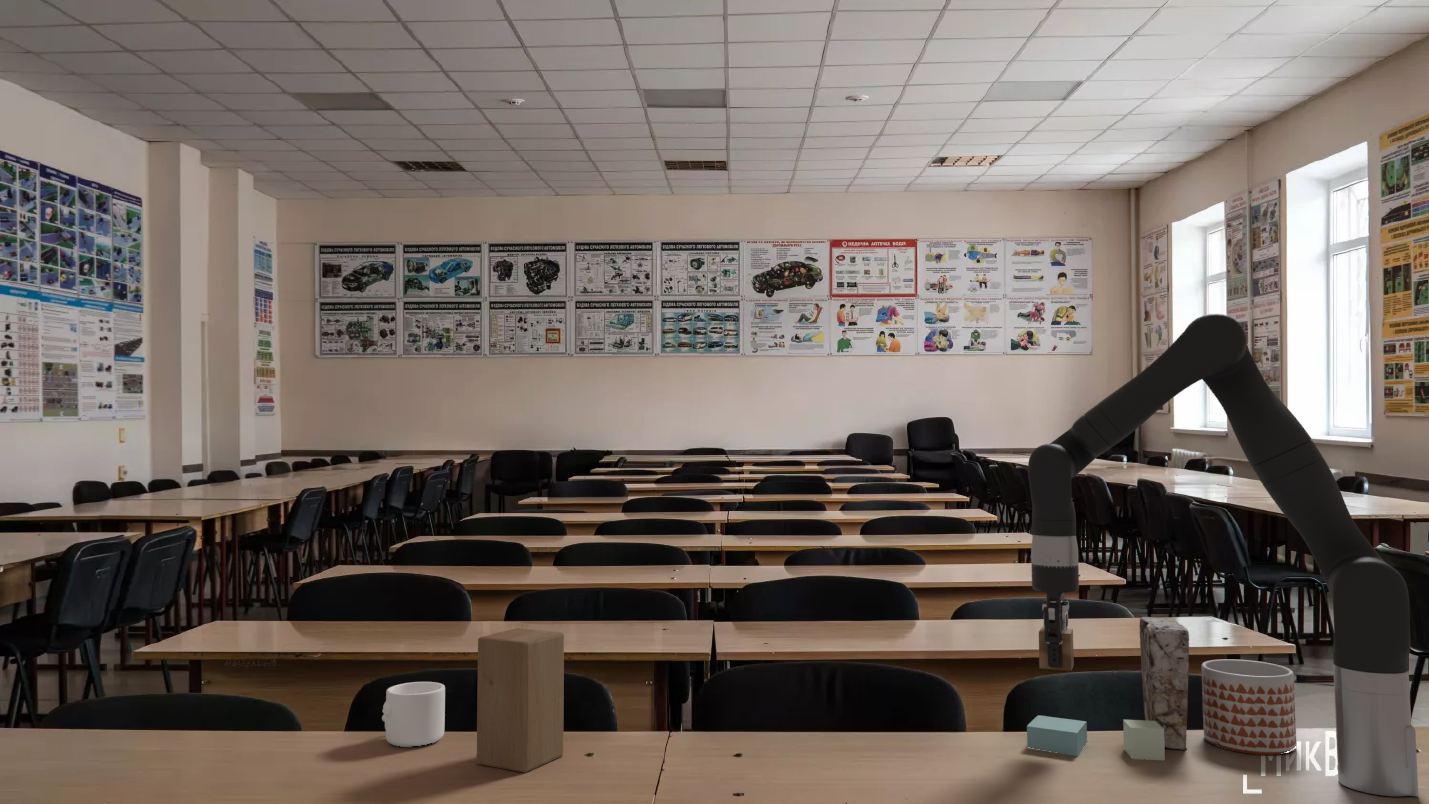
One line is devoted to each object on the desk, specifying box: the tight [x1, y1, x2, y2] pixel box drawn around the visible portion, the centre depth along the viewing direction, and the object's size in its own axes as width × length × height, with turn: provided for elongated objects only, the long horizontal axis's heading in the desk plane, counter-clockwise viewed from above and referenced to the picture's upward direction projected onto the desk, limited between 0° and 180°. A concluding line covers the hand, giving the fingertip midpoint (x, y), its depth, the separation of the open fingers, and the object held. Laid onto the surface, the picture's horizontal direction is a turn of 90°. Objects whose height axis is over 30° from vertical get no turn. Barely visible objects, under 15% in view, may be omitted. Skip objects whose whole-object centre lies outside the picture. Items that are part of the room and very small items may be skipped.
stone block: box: [1139, 616, 1190, 751], centre depth 166 cm, size 13×7×20 cm, turn 171°
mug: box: [381, 681, 446, 748], centre depth 167 cm, size 12×10×9 cm
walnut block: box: [1038, 626, 1075, 672], centre depth 162 cm, size 5×5×6 cm
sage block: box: [1122, 719, 1166, 761], centre depth 157 cm, size 5×5×5 cm
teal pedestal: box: [1026, 714, 1088, 757], centre depth 162 cm, size 8×8×4 cm
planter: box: [1201, 658, 1297, 756], centre depth 163 cm, size 14×14×13 cm
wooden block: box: [476, 627, 565, 774], centre depth 156 cm, size 10×10×20 cm
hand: (1056, 663), depth 162 cm, fingers closed on walnut block, 5 cm apart
